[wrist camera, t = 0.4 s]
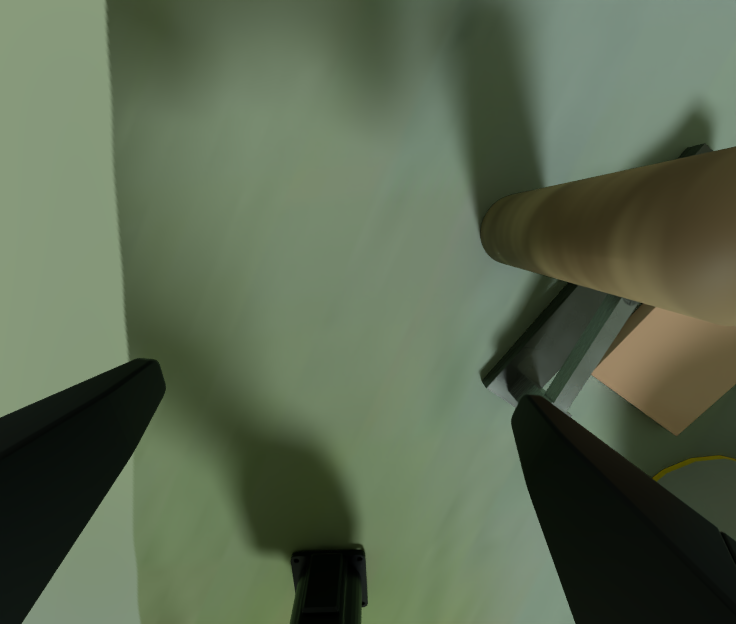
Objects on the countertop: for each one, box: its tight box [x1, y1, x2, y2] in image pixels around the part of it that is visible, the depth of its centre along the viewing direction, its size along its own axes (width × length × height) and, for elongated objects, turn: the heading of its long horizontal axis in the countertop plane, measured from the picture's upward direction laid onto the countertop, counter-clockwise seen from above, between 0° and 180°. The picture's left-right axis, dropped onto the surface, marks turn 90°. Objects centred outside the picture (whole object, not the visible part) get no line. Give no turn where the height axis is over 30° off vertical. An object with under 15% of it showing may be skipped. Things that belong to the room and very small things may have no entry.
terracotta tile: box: [591, 303, 736, 436], centre depth 22 cm, size 9×9×1 cm
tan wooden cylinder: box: [480, 147, 736, 326], centre depth 14 cm, size 4×4×13 cm
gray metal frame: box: [482, 144, 713, 417], centre depth 19 cm, size 19×3×4 cm, turn 145°
